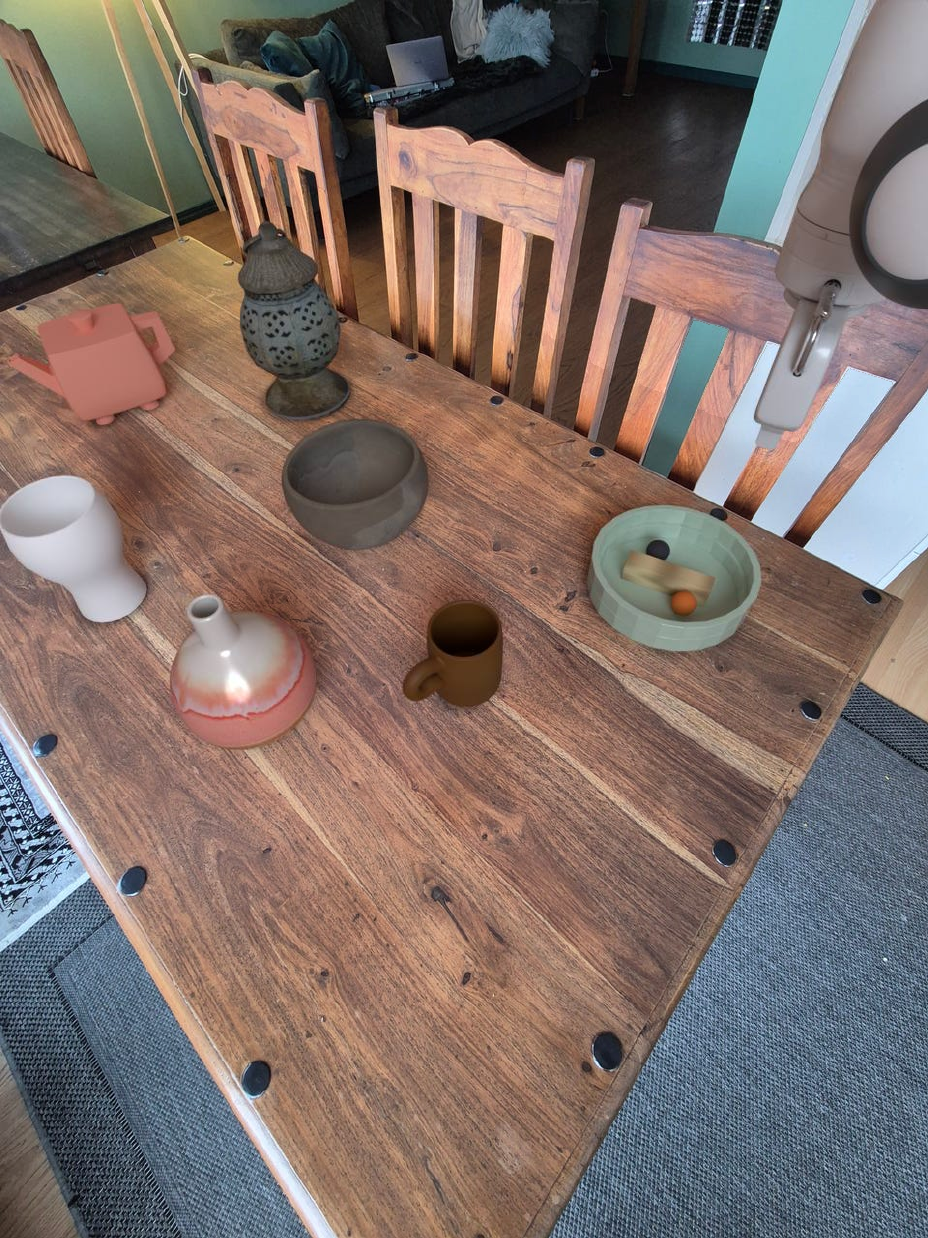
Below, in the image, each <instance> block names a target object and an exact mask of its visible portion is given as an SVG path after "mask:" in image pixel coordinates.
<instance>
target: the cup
mask: <svg viewBox="0 0 928 1238" xmlns="http://www.w3.org/2000/svg"><path fill="white" fill-rule="evenodd" d="M120 520H121V519H120V517H119V516H118V514H117V513H116V511H115V509H114V507H113V506H112V505H111V503H110V501H109V499H108V497H106V496H105V495H104V494H103V493H101V491H100V490H99V489H97V488H96V487H95V485H93V484H92V483H91V482H89V481H88V480H86V479H85V478H83V477H79V476H76V475H66V474H63V475H62V474H61V475H53V476H49V477H44V478H40V479H38V480H35V481H32V482H30V483H28V484H26V485H25V486H23V487H21V488H19V489H17V490H16V491H15V492H14V493H13V494H11V495H10V496H9V497H8V498H7V499H6V500H5V501H4V502H3V504H2V505H1V507H0V532H1V534H2V536H3V539H4V540H5V543H6V545H7V547H8V550H9V551H10V552H11V553H12V555H14V557H15V558H16V559H17V560H18V562H20V563H21V565H23V566H24V567H25V568H26V569H28V570H30V571H31V572H33V573H34V574H36V575H38V576H39V577H41V578H43V579H45V580H48V581H51V582H52V583H56V584H59V585H61V586H63V588H65V589H66V590H67V591H68V592H69V593H71V595H72V597H73V599H74V602H75V604H76V605H77V607H78V609H79V611H80V613H81V615H82V616H83V617H85V619H87V620H89V621H91V622H94V623H109V622H113V621H117V620H120V619H123V618H125V617H126V616H129V615H130V614H131V613H133V612H134V611H135V610H137V608H139V606H141V604H142V603H143V601H144V599H145V598H146V594H147V584H146V582H145V580H144V579H143V578H142V577H141V575H140V574H139V573H138V572H137V571H136V570H135V569H134V568H132V566H131V565H129V563H128V562H127V559H126V557H125V555H124V535H123V530H122V529H123V528H122V524H121V521H120Z"/></svg>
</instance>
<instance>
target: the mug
mask: <svg viewBox="0 0 928 1238" xmlns="http://www.w3.org/2000/svg"><path fill="white" fill-rule="evenodd" d="M503 634H504V633H503V625H502V621H501V618H500V617H499V616H498V614H497V613H496V612H495V611H494V609H492V608H491V607H490V606H489V605H487V604H485V603H483V602H480V601H478V600H473V599H457V600H452V601H450V602H447V603H445V604H443V605H442V606H440V607H438V608H437V610H435V611H434V613H433V614H432V615H431V616H430V618H429V620H428V623H427V627H426V648H427V656H428V657H426V658H424V659H422V660H420V661H418V662H417V663H416V664H414V665H413V666H412V667H411V668H410V669H409V671H408V672H407V673H406V675H405V676H404V679H403V682H402V685H401V687H402V689H401V690H402V694H403V696H404V697H405V698H406V699H407V700H408V701H411V702H421V701H423V700H426V699H427V698H429V697H430V696H432V695H433V694H434V693H437V695H438V697H440V698H441V699H442V700H443V701H445V702H446V703H448V704H450V705H453V706H456V707H460V708H471V707H476V706H477V707H478V706H480V705H482V704H484V703H486V702H488V701H489V700H490V699H491V698H492V697H493V696H494V695H495V694H496V693H497V691H498V689H499V687H500V684H501V680H502V672H503V656H504V654H503V653H504V635H503Z"/></svg>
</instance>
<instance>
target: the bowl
mask: <svg viewBox="0 0 928 1238" xmlns="http://www.w3.org/2000/svg"><path fill="white" fill-rule="evenodd" d="M429 480H430V479H429V471H428V466H427V463H426V460H425V457H424V455H423V452H422V450H421V448H420V446H419V444H418V443H417V442H416V440H415V439H414V438H413V436H412V435H410V433H408V432H407V431H406V430H405V429H403V428H402V427H400V426H397V425H395V424H393V423H391V422H386V421H383V420H378V419H369V418H353V419H352V418H350V419H344V420H338V421H335V422H332V423H329V424H326V425H324V426H322V427H320V428H318V429H316V430H314V431H312V432H310V433H308V434H307V435H305V436H304V437H303V438H302V439H301V440H299V441H298V442H297V443H296V444H295V445H294V446H293V447H292V449H291V450H290V451H289V452H288V455H287V456H286V457H285V459H284V462H283V465H282V471H281V487H282V491H283V496H284V499H285V502H286V505H287V507H288V509H289V510H290V512H291V515H292V516H293V517H294V518H295V520H296V522H297V523H298V524H299V525H300V527H302V528H303V530H305V532H307V533H308V534H310V535H311V536H313V537H314V538H316V539H318V540H320V541H321V542H323V543H326V544H327V545H330V546H331V547H332V546H333V547H336V548H338V549H343V550H347V551H364V550H370V549H375V548H379V547H383V546H384V545H387V544H389V543H391V542H392V541H394V540H395V539H396V538H397V537H399V536H400V535H402V534H403V533H404V532H405V531H406V530H407V529H408V528H409V527H410V526H411V525H412V524H413V523H414V522H415V520H416V519H417V518H418V516H419V515H420V513H421V512H422V510H423V508H424V506H425V504H426V500H427V498H428V494H429V484H430V483H429V482H430V481H429Z"/></svg>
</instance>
